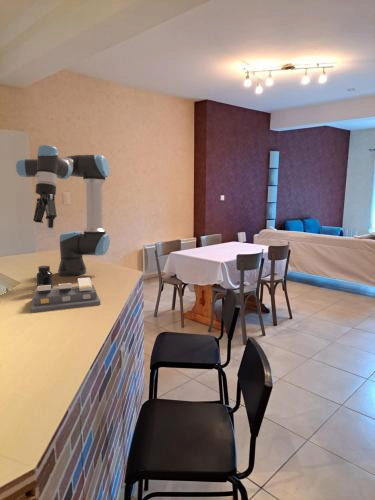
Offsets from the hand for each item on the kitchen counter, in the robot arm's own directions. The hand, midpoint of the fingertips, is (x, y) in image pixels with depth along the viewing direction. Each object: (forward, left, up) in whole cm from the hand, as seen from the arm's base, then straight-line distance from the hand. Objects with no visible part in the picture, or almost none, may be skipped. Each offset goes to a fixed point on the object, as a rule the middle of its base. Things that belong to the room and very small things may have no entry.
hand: (43, 237), depth 139 cm
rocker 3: (-1, +15, -21) cm, 26 cm away
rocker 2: (-1, +7, -21) cm, 22 cm away
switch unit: (+1, +7, -28) cm, 28 cm away
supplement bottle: (-18, -1, -28) cm, 33 cm away
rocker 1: (-1, -1, -21) cm, 21 cm away
